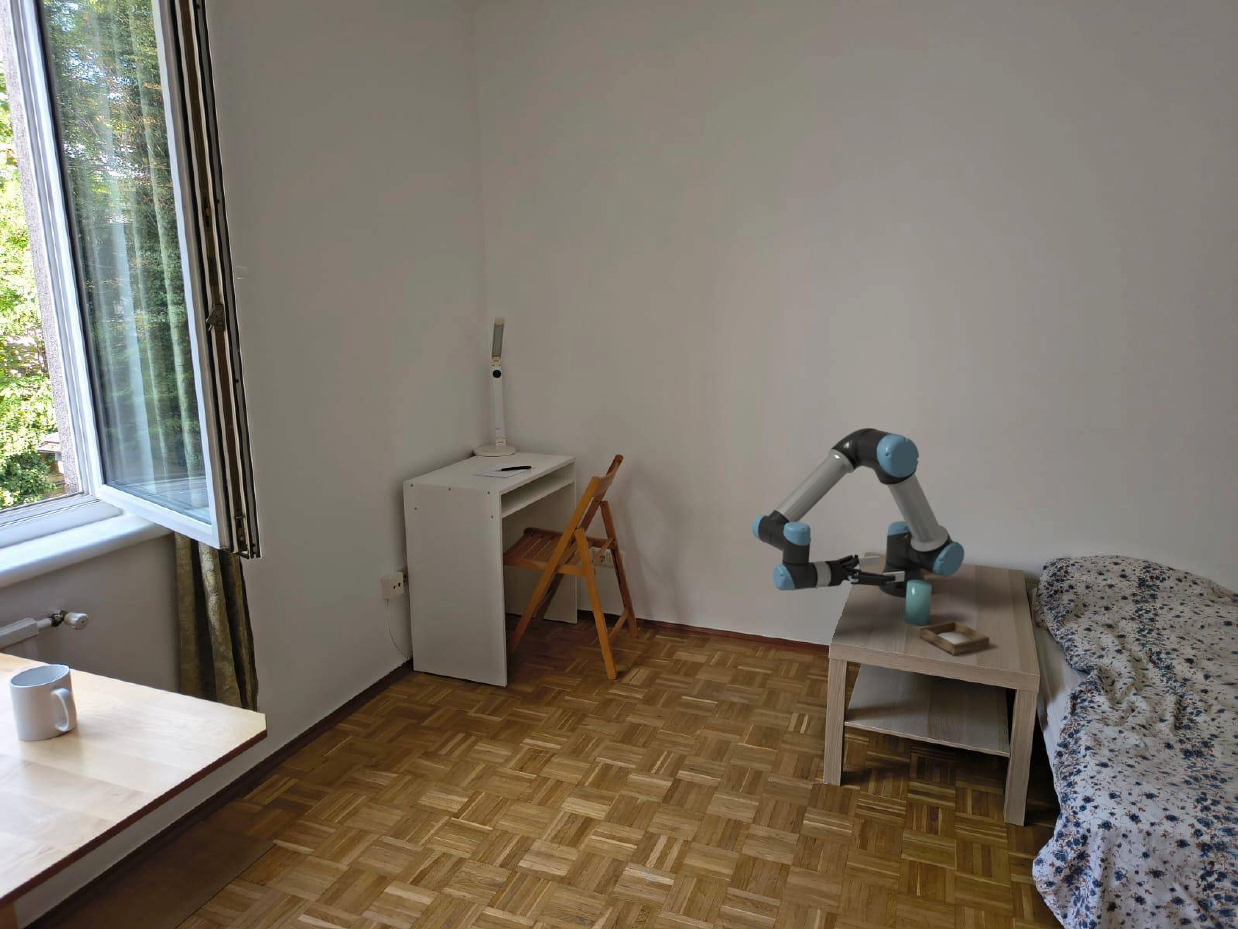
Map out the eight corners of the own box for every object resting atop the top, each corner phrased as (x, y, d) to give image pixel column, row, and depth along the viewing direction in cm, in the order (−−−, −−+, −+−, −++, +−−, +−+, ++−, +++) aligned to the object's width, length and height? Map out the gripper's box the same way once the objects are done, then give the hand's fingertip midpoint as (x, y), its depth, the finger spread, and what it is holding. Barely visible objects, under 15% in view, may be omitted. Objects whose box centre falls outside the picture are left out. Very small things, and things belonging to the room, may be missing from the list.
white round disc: (930, 637, 246) (930, 636, 246) (953, 631, 250) (954, 630, 250) (953, 650, 238) (953, 648, 238) (977, 644, 242) (977, 642, 242)
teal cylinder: (899, 618, 260) (902, 582, 258) (917, 614, 263) (920, 578, 260) (915, 627, 254) (918, 589, 251) (933, 623, 257) (936, 586, 254)
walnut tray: (919, 637, 247) (920, 628, 247) (953, 629, 252) (954, 620, 252) (953, 656, 236) (954, 646, 235) (988, 647, 241) (989, 637, 240)
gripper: (805, 571, 260) (868, 565, 265) (845, 602, 236) (913, 595, 241) (807, 548, 258) (869, 543, 263) (847, 576, 234) (915, 570, 239)
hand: (890, 568), depth 252 cm, fingers open, 13 cm apart
